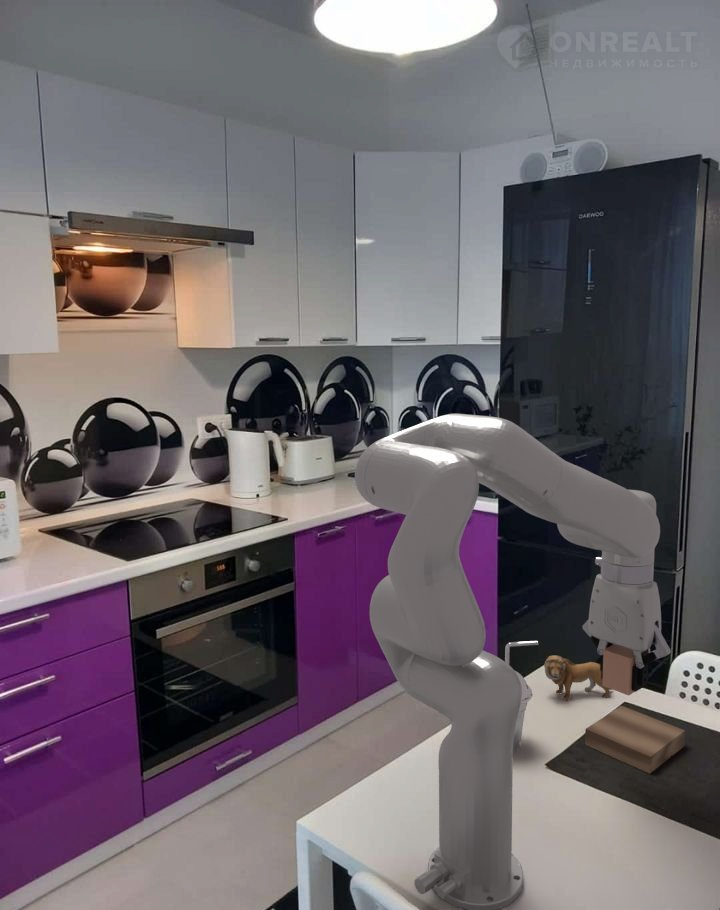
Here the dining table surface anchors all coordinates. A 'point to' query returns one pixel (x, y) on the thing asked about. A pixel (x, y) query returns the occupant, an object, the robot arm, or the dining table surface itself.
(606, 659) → the terracotta block
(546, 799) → the dining table surface
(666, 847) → the dining table surface
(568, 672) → the lion figurine
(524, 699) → the cup with straw
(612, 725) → the walnut base
